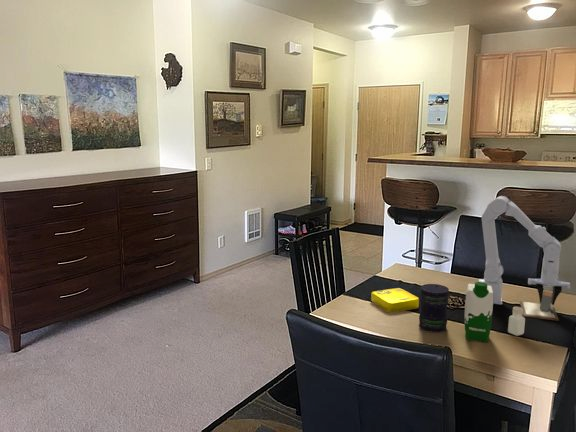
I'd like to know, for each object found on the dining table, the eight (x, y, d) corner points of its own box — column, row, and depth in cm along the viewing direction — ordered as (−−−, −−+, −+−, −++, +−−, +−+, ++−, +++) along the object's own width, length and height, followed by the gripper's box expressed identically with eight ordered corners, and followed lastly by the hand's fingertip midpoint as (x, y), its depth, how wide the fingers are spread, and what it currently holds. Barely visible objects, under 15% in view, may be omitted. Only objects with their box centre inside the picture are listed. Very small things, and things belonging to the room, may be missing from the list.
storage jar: (442, 335, 167) (445, 294, 165) (415, 329, 173) (417, 289, 170) (449, 325, 176) (452, 286, 173) (423, 319, 181) (425, 282, 178)
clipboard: (523, 316, 184) (523, 312, 184) (519, 302, 198) (520, 299, 198) (558, 320, 180) (559, 317, 179) (552, 306, 194) (552, 302, 194)
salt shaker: (516, 336, 166) (519, 310, 164) (507, 332, 170) (509, 307, 168) (524, 334, 168) (526, 308, 166) (514, 330, 171) (516, 305, 170)
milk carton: (463, 340, 163) (467, 284, 160) (462, 329, 172) (466, 276, 168) (491, 344, 160) (495, 287, 157) (489, 333, 169) (493, 279, 165)
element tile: (389, 314, 187) (389, 302, 187) (369, 301, 201) (369, 290, 200) (420, 308, 193) (421, 297, 192) (399, 296, 206) (399, 286, 206)
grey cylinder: (539, 308, 188) (542, 292, 187) (541, 307, 190) (545, 290, 189) (547, 311, 186) (551, 294, 185) (550, 310, 188) (553, 293, 187)
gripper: (530, 271, 186) (527, 304, 188) (573, 275, 181) (569, 309, 183) (528, 266, 192) (525, 298, 195) (569, 270, 187) (566, 302, 190)
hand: (546, 303), depth 189 cm, fingers closed on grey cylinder, 3 cm apart
